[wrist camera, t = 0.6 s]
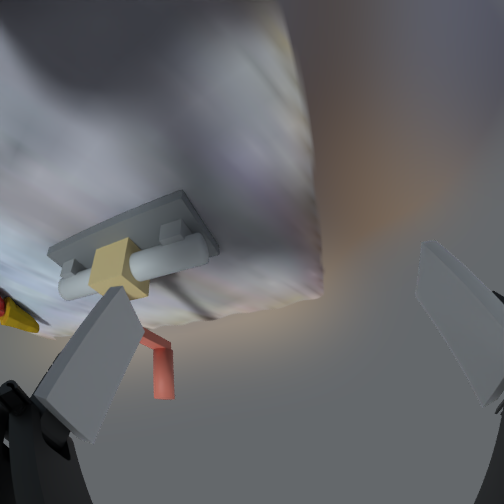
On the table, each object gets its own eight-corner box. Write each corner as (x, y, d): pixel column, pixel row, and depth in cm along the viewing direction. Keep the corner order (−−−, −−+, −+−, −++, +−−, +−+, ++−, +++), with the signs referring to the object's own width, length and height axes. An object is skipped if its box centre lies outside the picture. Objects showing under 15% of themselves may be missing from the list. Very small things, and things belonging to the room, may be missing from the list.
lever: (98, 312, 30) (92, 383, 25) (115, 308, 30) (110, 383, 24) (160, 346, 42) (161, 399, 37) (176, 344, 42) (178, 399, 36)
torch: (39, 307, 58) (-28, 272, 37) (49, 316, 56) (-24, 281, 34) (31, 331, 56) (-37, 302, 34) (41, 343, 53) (-33, 314, 31)
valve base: (49, 247, 35) (32, 306, 29) (182, 189, 31) (176, 265, 25) (93, 282, 44) (85, 336, 38) (218, 246, 40) (223, 312, 34)
